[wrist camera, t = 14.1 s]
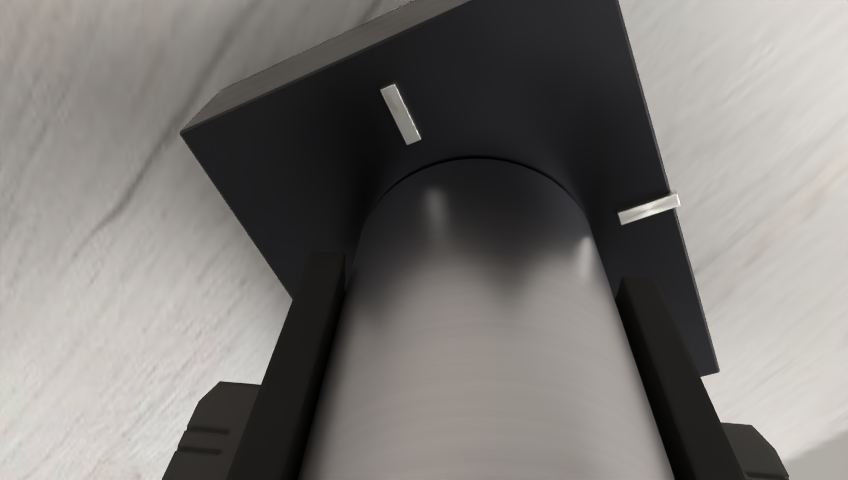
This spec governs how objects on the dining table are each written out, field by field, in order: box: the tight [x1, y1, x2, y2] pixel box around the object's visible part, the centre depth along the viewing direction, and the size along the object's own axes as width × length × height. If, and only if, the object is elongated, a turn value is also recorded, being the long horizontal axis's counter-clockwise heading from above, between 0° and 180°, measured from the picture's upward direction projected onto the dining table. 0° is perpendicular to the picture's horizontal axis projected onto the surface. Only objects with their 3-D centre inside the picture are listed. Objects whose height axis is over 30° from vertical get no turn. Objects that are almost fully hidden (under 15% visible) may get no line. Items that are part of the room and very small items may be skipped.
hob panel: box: [180, 0, 720, 377], centre depth 17 cm, size 12×10×3 cm
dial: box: [297, 159, 675, 480], centre depth 12 cm, size 6×6×9 cm
